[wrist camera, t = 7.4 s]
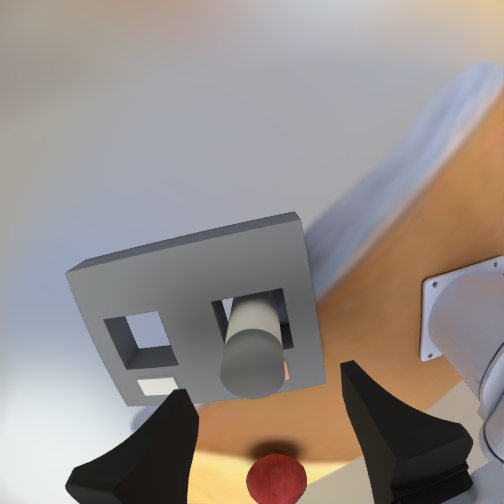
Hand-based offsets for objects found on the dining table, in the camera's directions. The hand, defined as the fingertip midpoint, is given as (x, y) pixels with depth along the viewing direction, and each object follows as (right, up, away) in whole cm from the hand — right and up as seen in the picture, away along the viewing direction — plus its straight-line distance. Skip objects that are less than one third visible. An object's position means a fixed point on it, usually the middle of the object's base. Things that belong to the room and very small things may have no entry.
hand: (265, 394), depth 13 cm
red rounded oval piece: (+2, -15, +14) cm, 20 cm away
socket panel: (-4, +2, +9) cm, 10 cm away
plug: (0, +3, +9) cm, 9 cm away
